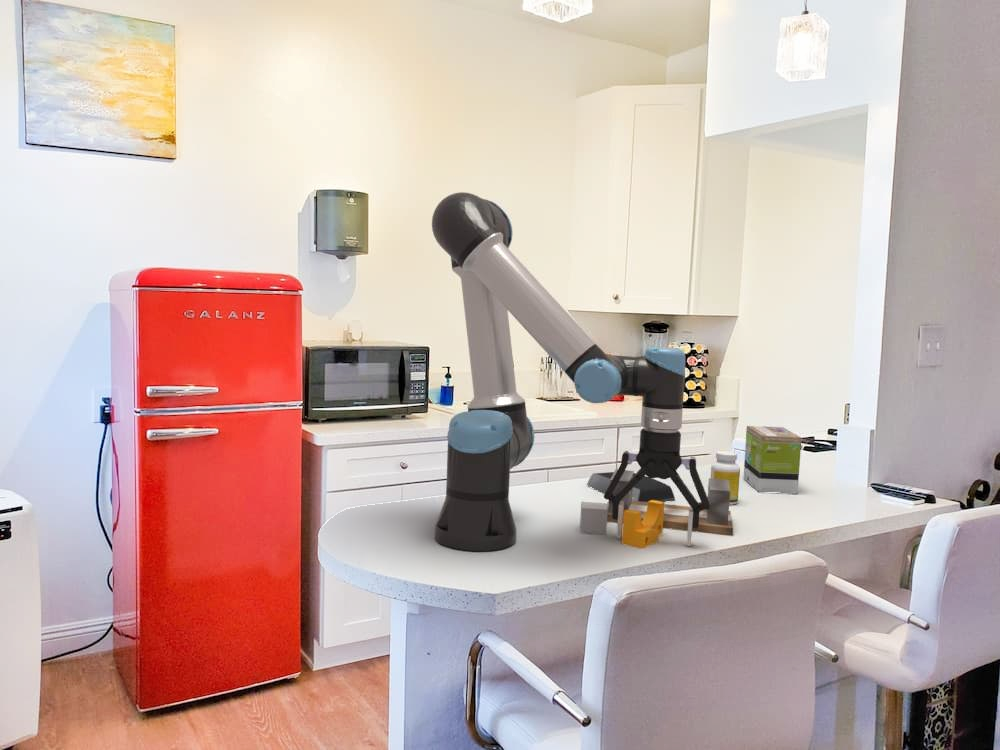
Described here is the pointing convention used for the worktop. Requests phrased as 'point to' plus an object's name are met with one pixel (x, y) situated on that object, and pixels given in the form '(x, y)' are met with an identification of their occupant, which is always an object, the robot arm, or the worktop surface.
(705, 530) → the rail board
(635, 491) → the dark piece
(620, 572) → the worktop surface
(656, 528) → the pipe clamp
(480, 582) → the worktop surface
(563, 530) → the worktop surface
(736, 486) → the pill bottle
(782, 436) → the tea box
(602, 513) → the block
